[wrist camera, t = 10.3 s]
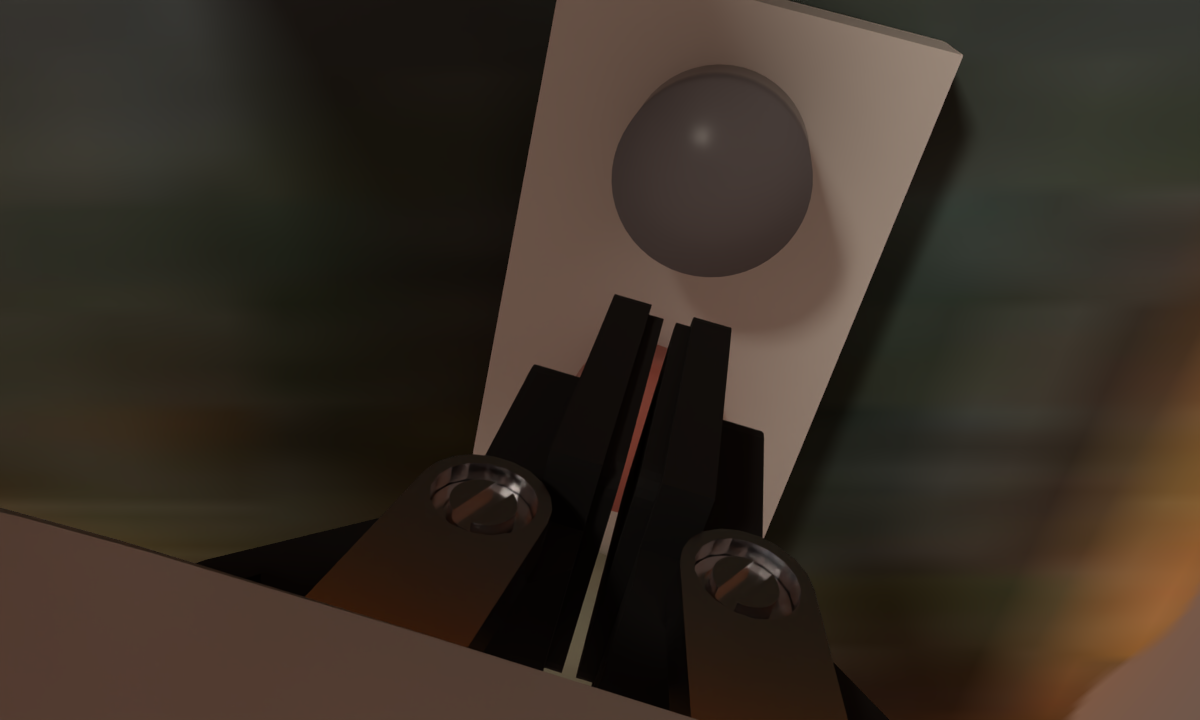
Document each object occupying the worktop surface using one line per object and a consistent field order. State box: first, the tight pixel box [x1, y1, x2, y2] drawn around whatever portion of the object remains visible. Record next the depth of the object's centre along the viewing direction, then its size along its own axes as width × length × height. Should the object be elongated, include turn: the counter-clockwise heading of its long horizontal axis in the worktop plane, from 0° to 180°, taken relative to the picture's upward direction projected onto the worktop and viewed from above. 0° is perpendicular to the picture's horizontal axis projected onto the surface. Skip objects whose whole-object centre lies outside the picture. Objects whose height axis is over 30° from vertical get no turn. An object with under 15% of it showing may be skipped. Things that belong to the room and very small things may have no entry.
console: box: [473, 0, 963, 556], centre depth 31 cm, size 26×11×3 cm, turn 167°
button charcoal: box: [611, 64, 813, 277], centre depth 23 cm, size 5×5×2 cm
